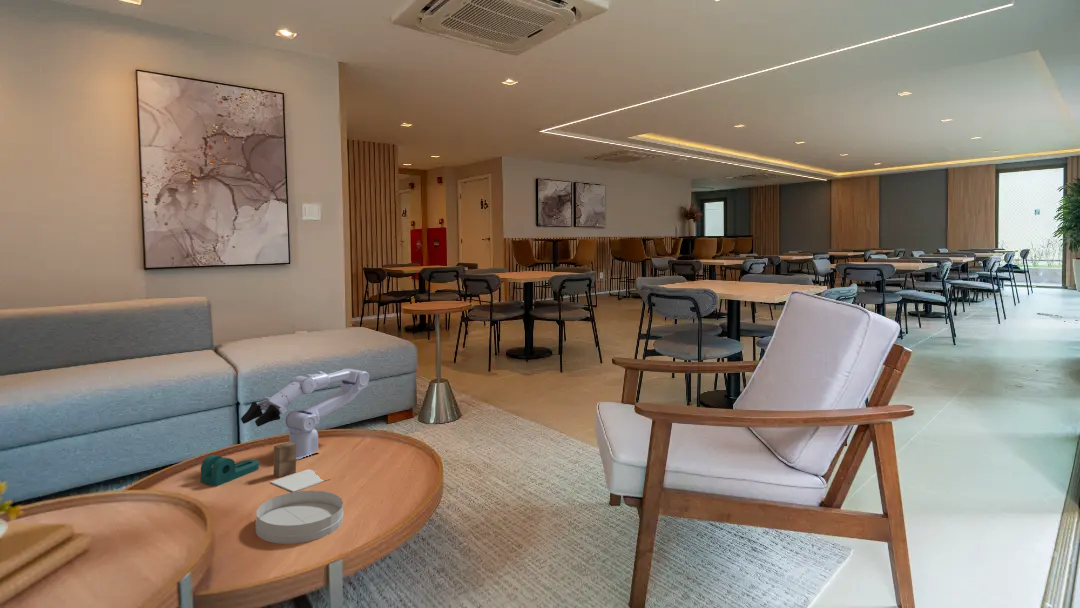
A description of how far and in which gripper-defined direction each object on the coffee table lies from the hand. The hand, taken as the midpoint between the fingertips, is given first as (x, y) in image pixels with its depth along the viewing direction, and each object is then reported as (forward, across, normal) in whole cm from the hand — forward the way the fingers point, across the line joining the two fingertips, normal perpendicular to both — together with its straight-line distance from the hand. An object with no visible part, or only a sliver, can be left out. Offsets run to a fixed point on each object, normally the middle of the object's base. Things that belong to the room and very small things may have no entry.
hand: (249, 422), depth 185 cm
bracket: (+11, -2, +14) cm, 18 cm away
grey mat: (+2, +19, +18) cm, 27 cm away
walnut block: (+2, +10, +18) cm, 21 cm away
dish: (+21, +43, +13) cm, 49 cm away
